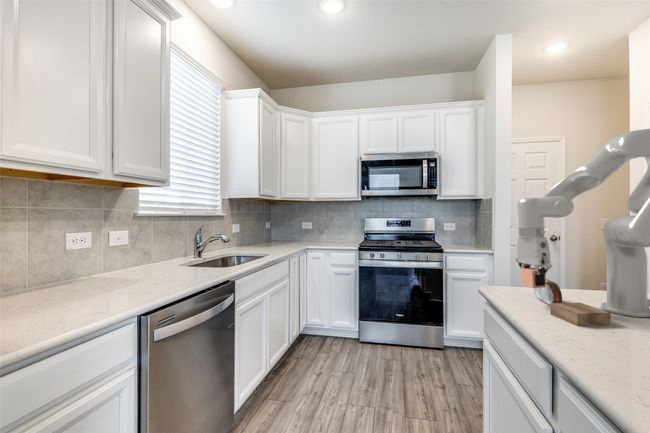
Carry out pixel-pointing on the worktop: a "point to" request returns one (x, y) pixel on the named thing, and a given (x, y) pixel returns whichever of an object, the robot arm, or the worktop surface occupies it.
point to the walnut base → (580, 314)
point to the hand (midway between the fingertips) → (533, 283)
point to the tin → (549, 293)
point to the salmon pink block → (530, 278)
